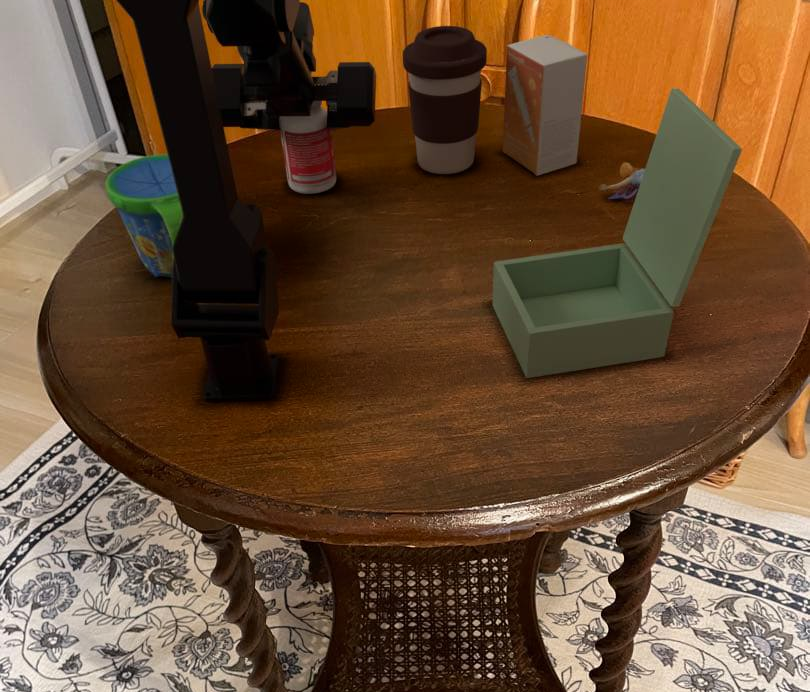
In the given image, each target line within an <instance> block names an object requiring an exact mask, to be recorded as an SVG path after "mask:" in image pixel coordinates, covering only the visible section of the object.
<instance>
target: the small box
mask: <svg viewBox="0 0 810 692" xmlns="http://www.w3.org/2000/svg"><path fill="white" fill-rule="evenodd" d="M587 62H588V53H586V52H585V51H582V50H580V49H578V48H576V47H574V46H573V45H572V44H570V43H569V42H567V41H563V40H560V39H559V38H557V37H554V36H553V35H551V34H544V35H540V36H536V37H532V38H528V39H524V40H521V41H517V42H513V43H510V44H507V45H506V61H505V65H506V66H505V82H504V84H505V85H504V86H505V87H504V107H503V111H504V112H503V131H502V134H503V135H502V153H503V154H505V155H506V156H508V157H510V158H511V159H512V160H514V161H515V162H517V163H519V164H520V165H521V166H523V167H524V168H526V169H527V170H529V171H530V172H531V173H532V174H534V176H541V175H544V174H547V173H550V172H553V171H557V170H561V169H563V168H566V167H570V166H573V165H575V164H577V162H578V152H579V143H580V132H581V124H582V123H581V122H582V114H583V103H584V94H585V93H584V92H585V82H586V73H587V64H588V63H587Z"/></svg>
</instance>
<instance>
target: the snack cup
mask: <svg viewBox="0 0 810 692" xmlns="http://www.w3.org/2000/svg"><path fill="white" fill-rule="evenodd" d="M105 189H106V193H107V196H108V199H109V200H110V202H111V203H112V205H113V206H114V207H116V209H117V211H118V213H119V216H120V218H121V220H122V223H123V224H124V226H125V228H126V231H127V233H128V235H129V237H130V240H131V242H132V243H133V245H134V248H135V250H136V252H137V255H138V256H139V258H140V260H141V262H142V264H143V265H144V267H145V268H146V269H147V271H149V272H150V273H151V274H152V275H153V276H154V277H156V278H158V277H164V278H170V279H172V274H171V267H172V265H173V258H174V256H173V251H172V247H173V244H174V241H175V238H176V236H177V233H178V230H179V227H180V224H181V222H182V219H183V213H182V208H181V204H180V200H179V196H178V192H177V189H176V185H175V181H174V177H173V173H172V169H171V165H170V161H169V157H168V154H167V153H160V154H159V153H158V154H152V155H146V156H142V157H139V158H135V159H132V160H130V161H127V162H125V163H123V164H121V165H120V166H118V167H116V168H115V169H114V170H113V171H112V172H111V173H110V174H109V175H108V176H107V178H106V181H105Z"/></svg>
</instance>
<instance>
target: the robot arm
mask: <svg viewBox="0 0 810 692" xmlns="http://www.w3.org/2000/svg"><path fill="white" fill-rule="evenodd" d="M115 1H116V2H117V3H118V5H119V6H120V7H121V8H122V9H123V10H124V11H125V13H126V14H127V15H128V16H129V18H130V19H131V20H132V22H133V25H134V28H135V32H136V35H137V40H138V44H139V47H140V48H139V49H140V52H141V55H142V60H143V63H144V67H145V71H146V76H147V79H148V84H149V87H150V91H151V95H152V99H153V102H154V106H155V111H156V114H157V117H158V122H159V126H160V129H161V134H162V138H163V141H164V145H165V149H166V154H168V157H169V161H170V165H171V169H172V173H173V177H174V181H175V185H176V189H177V192H178V196H179V200H180V204H181V208H182V213H183V219H182V222H181V224H180V227H179V230H178V233H177V236H176V238H175V241H174V244H173V247H172V251H173V256H174V258H173V265H172V267H171V274H172V278H171V327H172V329H173V330H174V333H175V334H176V336H177V339H185V338H199V339H200V342H201V346H202V350H203V354H204V356H205V361H206V365H207V369H208V372H207V373H208V374H207V378H206V382H205V386H204V390H203V394H202V395H203V396H202V397H203V399H204V401H206V402H226V401H228V402H229V401H251V400H255V401H256V400H269V399H272V398H273V397H274V393H275V386H276V380H277V374H278V367H279V361H280V359H279V355H278V354H277V353H269V352H268V347H267V342H266V341H271V338H272V334H273V332H274V329H275V325H276V323H277V319H278V317H279V315H280V302H279V301H280V299H279V288H278V287H279V286H278V276H277V275H278V274H277V263H276V262H277V261H276V258H275V254H274V252H273V250H272V249H269V243H268V240H267V237H266V232H265V227H264V220H263V219H264V218H263V213H262V212H261V210H260V209H259V207H258V205H256V204H245V203H244V202H243V201H242V199H241V198H240V197H239V196H238V192H237V187H236V181H235V177H234V172H233V167H232V163H231V157H230V153H229V146H228V143H227V142H228V141H227V138H226V132H225V128H240V129H249V130H263V131H264V130H265V131H278V132H280V127H279V118H280V116H310V110H311V109H312V103H313V101H322V102H325V105H326V111H327V128H328V129H330V130H331V132H332V131H337V130H339V129H349V128H350V127H371V126H372V124H374V123H375V121H376V97H377V96H376V95H377V72H376V70H375V67H374V65H373V64H372V63H371V62H370V61H347V62H346V61H341V62H340V61H339V62H338V65H337V69H333V70H332V69H331V70H330V71H328V73H327V74H326V76H312V73H315V72H317V59H316V57H315V54H314V52H313V51H314V48H313V47H314V43H313V42H314V36H315V29H314V28H315V27H314V23H313V19H312V14H311V10H310V5H309V4H308V3H306V2H304V1H301V0H203V1H202V6H201V9H200V0H115ZM201 12H202V14H201ZM202 18H203V19H204V21H206V25H207V28H208V30H209V32H210V33H211V34H213V35H214V38H215V40H216V41H217V43H218V44H219V45H220V46H221V47H223V48H224V47H226V48H227V47H236V49H237V52H238V55H239V56H240V58H241V60H242V62H243V63H214V64H213V66H212V63H211V59H210V54H209V48H208V45H207V44H208V43H207V38H206V34H205V28H204V25H203V19H202Z"/></svg>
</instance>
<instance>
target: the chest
mask: <svg viewBox="0 0 810 692" xmlns="http://www.w3.org/2000/svg"><path fill="white" fill-rule="evenodd" d="M492 274H493V275H492V277H493V279H492V281H493V282H492V303H491V304H492V307H493V310H494V312H495V315H496V316H497V318H498V320H499V322H500V325H501V327H502V330H503V331H504V334H505V336H506V339H508V342H509V344H510V347H511V349H512V351H513V352H514V355H515V357H516V359H517V361H518V364H519V365H520V368H521V370H522V372H523V374H524V376H525V379H531V378H537V377H543V376H551V375H556V374H562V373H569V372H576V371H582V370H588V369H594V368H601V367H607V366H613V365H620V364H621V365H622V364H627V363H633V362H634V363H635V362H639V361H646V360H653V359H659V358H665V355H666V350H667V346H668V341H669V337H670V332H671V327H672V322H673V319H674V315H675V314H674V313H675V311H674V309H673V307H671V306H670V304H669V303H668V301H667V300H666V299H665V297H664V296H663V294H662V293H661V292H660V290H659V289H658V287H657V286H656V285H655V283H654V282H653V280H652V279H651V278H650V276H649V275H648V273H647V272H646V271H645V269H644V268H643V266H642V265H641V264H640V262H639V261H638V259H637V258H636V257H635V255H634V254H633V252H632V251H631V250H630V248H629V247H628V245H627V244H626V243H625V242H624V243H623V242H622V243H617V244H616V243H615V244H609V245H608V244H607V245H601V246H595V247H587V248H582V249H573V250H567V251H561V252H554V253H547V254H546V253H545V254H539V255H532V256H524V257H518V258H510V259H503V260H498V261H493V273H492Z"/></svg>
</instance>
